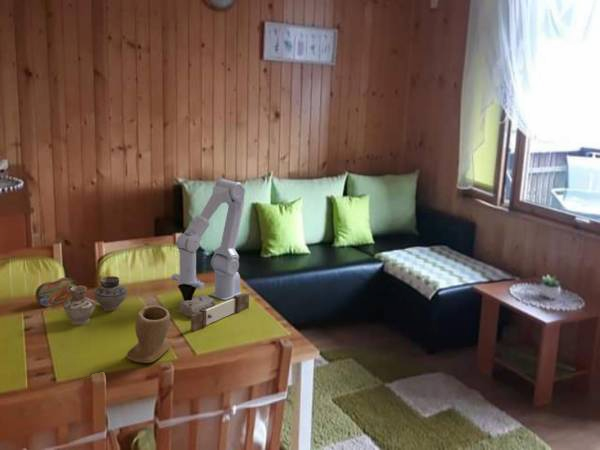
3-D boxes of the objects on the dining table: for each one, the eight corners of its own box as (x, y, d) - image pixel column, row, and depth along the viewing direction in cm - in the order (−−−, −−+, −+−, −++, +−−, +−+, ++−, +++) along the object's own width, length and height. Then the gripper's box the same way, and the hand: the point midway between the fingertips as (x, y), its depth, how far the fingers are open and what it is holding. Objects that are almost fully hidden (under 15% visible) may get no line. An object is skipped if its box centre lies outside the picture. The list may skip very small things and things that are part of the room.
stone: (173, 313, 207) (196, 321, 203) (175, 297, 206) (198, 305, 202) (197, 305, 219) (219, 312, 215) (199, 290, 218) (221, 297, 213)
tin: (39, 309, 206) (38, 286, 204) (34, 307, 208) (33, 284, 206) (78, 297, 218) (77, 276, 216) (73, 295, 220) (72, 274, 218)
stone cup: (157, 369, 170) (156, 320, 166) (121, 361, 173) (119, 313, 169) (183, 347, 184) (183, 301, 180) (149, 340, 187) (148, 295, 183)
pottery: (56, 324, 196) (54, 289, 193) (109, 299, 218) (108, 268, 215) (82, 331, 191) (81, 296, 188) (134, 305, 214) (133, 274, 211)
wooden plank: (245, 306, 217) (245, 291, 215) (249, 308, 216) (249, 292, 214) (190, 330, 196) (190, 313, 194) (194, 331, 194) (194, 314, 193)
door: (234, 311, 211) (234, 298, 210) (237, 312, 210) (238, 299, 209) (203, 324, 200) (203, 310, 198) (207, 325, 199) (207, 311, 197)
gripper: (165, 265, 211) (165, 301, 215) (193, 274, 203) (193, 311, 207) (180, 260, 217) (180, 295, 220) (208, 269, 209) (208, 306, 212)
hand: (187, 303), depth 214 cm, fingers closed
